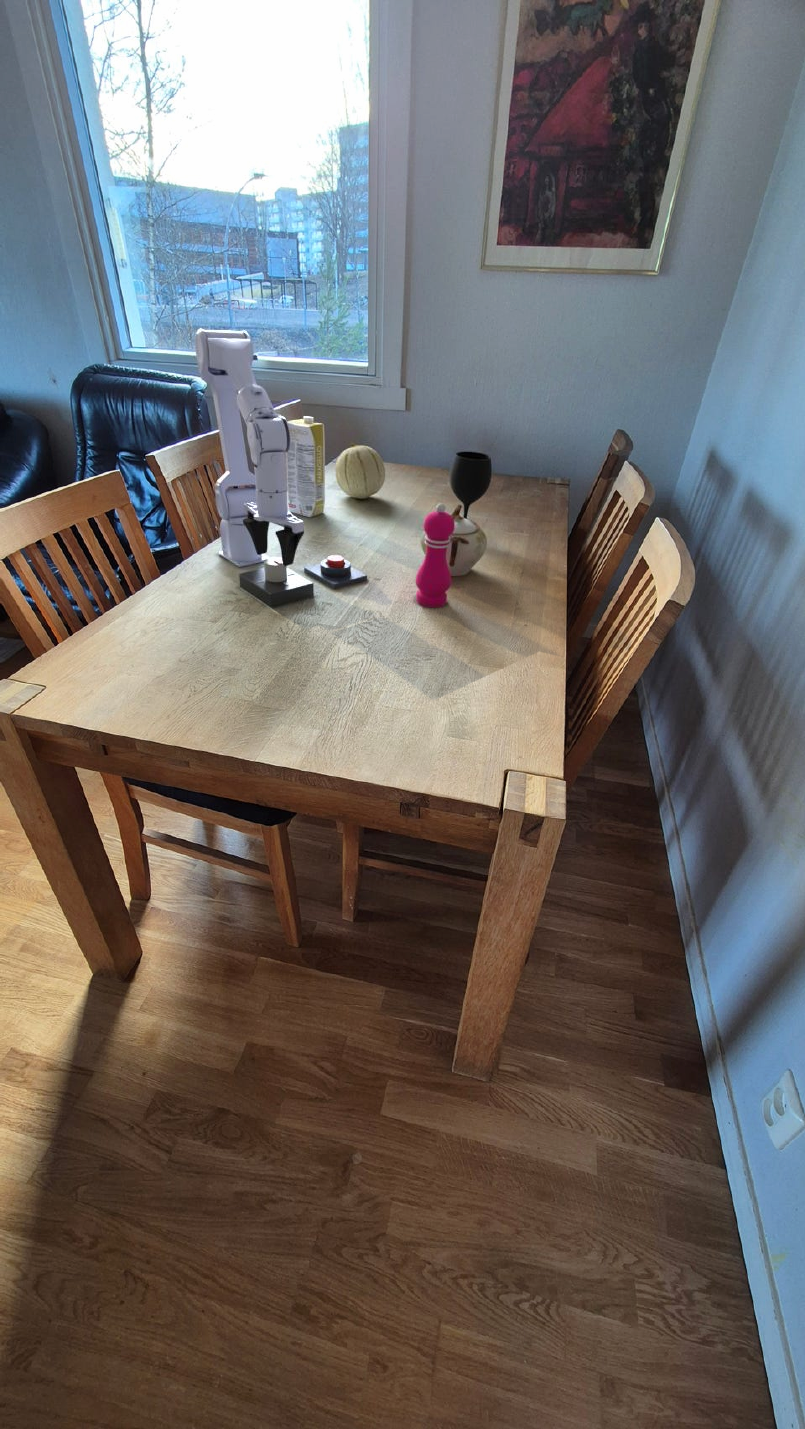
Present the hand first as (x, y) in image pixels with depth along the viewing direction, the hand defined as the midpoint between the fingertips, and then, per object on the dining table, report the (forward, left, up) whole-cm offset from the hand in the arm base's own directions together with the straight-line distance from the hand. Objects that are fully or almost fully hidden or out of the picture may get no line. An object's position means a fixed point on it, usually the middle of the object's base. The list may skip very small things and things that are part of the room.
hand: (274, 558), depth 122 cm
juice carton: (-40, +35, -7) cm, 54 cm away
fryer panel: (0, 0, -7) cm, 7 cm away
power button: (0, +15, -4) cm, 16 cm away
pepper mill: (+21, +24, -7) cm, 33 cm away
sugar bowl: (+11, +40, -7) cm, 42 cm away
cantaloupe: (-44, +57, -7) cm, 72 cm away
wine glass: (-4, +60, -7) cm, 61 cm away
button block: (0, +15, -7) cm, 17 cm away
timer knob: (0, 0, -4) cm, 4 cm away
